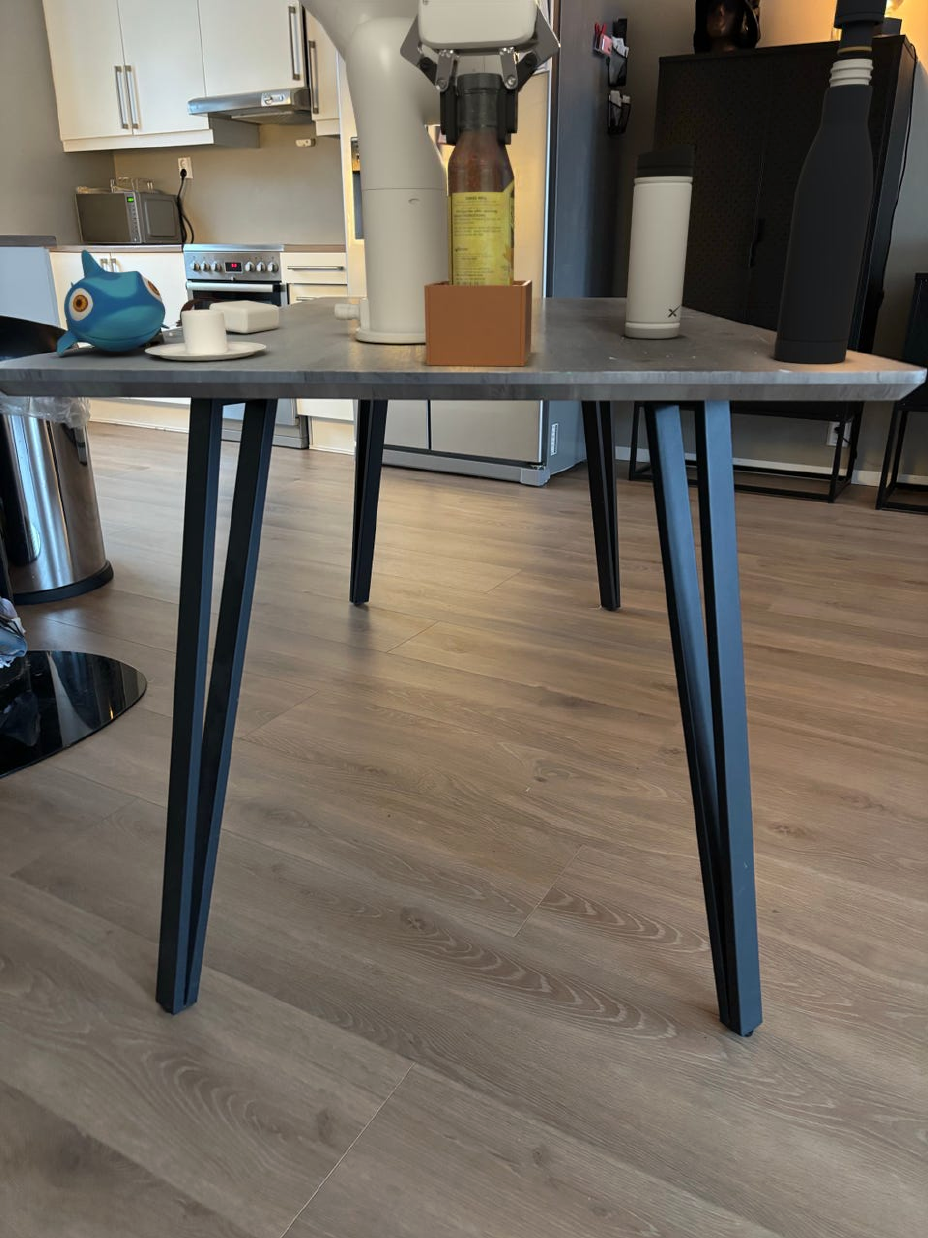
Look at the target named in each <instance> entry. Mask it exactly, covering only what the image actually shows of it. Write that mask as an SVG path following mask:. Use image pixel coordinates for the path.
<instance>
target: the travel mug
mask: <svg viewBox="0 0 928 1238" xmlns="http://www.w3.org/2000/svg"><path fill="white" fill-rule="evenodd" d="M698 151H699V143H698V142H691V143H689V144H687V145H682V146H673V147H667V148H660V149H656V150H650V151H646V152H641V153H640V154H637V156H636V157H635V158H636V159H635V160H636V161H635V169H636V171H635V172H634V173H635V174H634V176H635V177H634V182H633V183H634V184H635V185H634V187H633V197H632V212H631V213H632V214H631V215H632V216H631V231H630V245H629V246H630V247H629V263H628V276H627V277H628V279H627V294H626V308H625V309H626V310H625V321H626V322H625V324H624V325H625V326H624V336H625V337H626V338H628V339H629V338H630V339H636V340H637V339H638V340H669V339H671V340H672V339H676V338H677V337H679V336H680V330H681V329H680V328H681V323H680V321H681V317H682V315H681V314H682V305H683V294H684V282H685V270H686V259H687V247H688V237H689V236H688V235H689V224H690V212H691V203H692V202H691V201H692V192H693V191H692V190H693V185H692V183H693V180H694V177H693V168H694V155H695V152H698Z"/></svg>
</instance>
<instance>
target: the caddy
mask: <svg viewBox="0 0 928 1238" xmlns="http://www.w3.org/2000/svg"><path fill="white" fill-rule="evenodd" d="M424 293H425V332H426V343H425V358H426V359H425V362H426V363H425V364H426V366H443V367H444V366H445V367H446V366H447V367H449V366H453V367H456V366H458V367H525V365H526V364H527V362H528V360H529V358H530V356H531V353H532V314H533V313H532V312H533V279H532V280H531V279H530V280H529V279H528V280H527V279H526V280H525V279H524V280H523V279H522V280H521V279H517V280H516V279H514V285H449V281H438V282H435V283H431V284H428V285H425V286H424Z"/></svg>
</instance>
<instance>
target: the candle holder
mask: <svg viewBox="0 0 928 1238" xmlns="http://www.w3.org/2000/svg"><path fill="white" fill-rule="evenodd" d="M181 318H182V333H183V341H184V342H181V343H179V342H178V343H171V344H170V343H169V344H160V345H157V346H150V347H147V348H146V349H145V350H144V352H145V353H146V354H149V355H154V356H159V357H160V358H163V359H167V360H172V361H173V360H174V361H183V362H184V361H185V362H194V361H195V362H205V361H206V362H208V361H210V362H211V361H223V360H224V361H225V360H232V359H234V360H235V359H239V358H244V357H248V356H251V355H254V354H255V353H256V352H259V351H262V350H264V349H266V348H267V345H265V344H263V343H258V342H251V341H249V342H248V341H228V339H227V330H226V329H225V320H224V313H223V311H221V310H209V309H191V310H190V311H183V312H181Z"/></svg>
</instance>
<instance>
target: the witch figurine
mask: <svg viewBox="0 0 928 1238" xmlns="http://www.w3.org/2000/svg"><path fill="white" fill-rule="evenodd" d="M174 323H175V324H171V327H172V326H175V327H176V328H181V327H182V328H183V326H182V324H181V321H180V319H178V320H177V321H175V322H174ZM168 336H169V337H170V338H172V337H173V336H174V333H173V332H169V333H168Z"/></svg>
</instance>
